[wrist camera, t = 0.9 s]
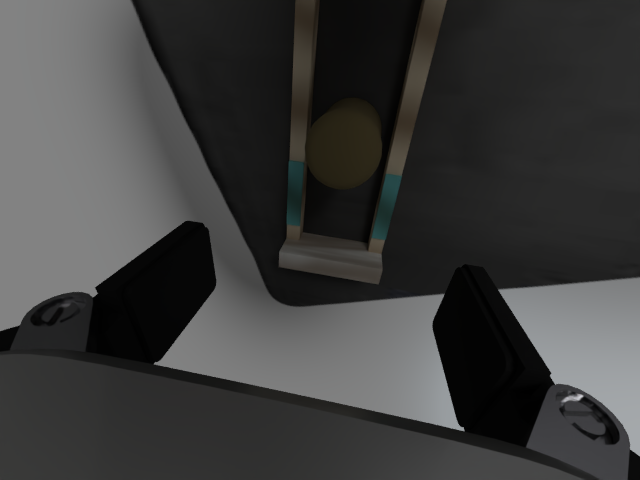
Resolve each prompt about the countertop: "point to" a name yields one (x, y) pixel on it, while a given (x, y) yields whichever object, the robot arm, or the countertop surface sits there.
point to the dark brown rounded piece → (345, 144)
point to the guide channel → (366, 257)
